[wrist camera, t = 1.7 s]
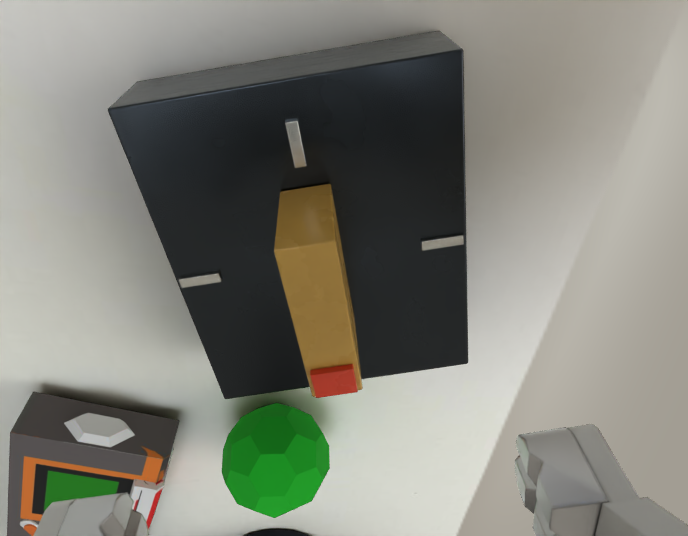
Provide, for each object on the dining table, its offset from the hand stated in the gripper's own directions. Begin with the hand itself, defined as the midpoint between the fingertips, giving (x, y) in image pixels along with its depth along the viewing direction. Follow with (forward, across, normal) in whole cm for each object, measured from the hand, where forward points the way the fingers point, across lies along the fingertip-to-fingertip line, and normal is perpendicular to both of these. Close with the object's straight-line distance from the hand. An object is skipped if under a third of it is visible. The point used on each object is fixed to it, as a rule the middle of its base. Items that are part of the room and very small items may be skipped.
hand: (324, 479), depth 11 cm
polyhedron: (+12, +4, +11) cm, 16 cm away
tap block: (+11, 0, 0) cm, 11 cm away
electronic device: (+12, +15, +14) cm, 23 cm away
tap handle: (+8, 0, 0) cm, 8 cm away
